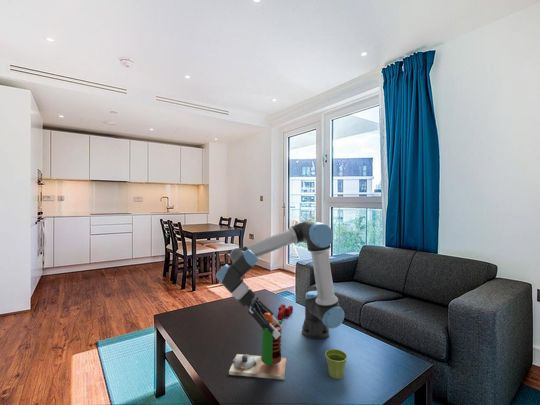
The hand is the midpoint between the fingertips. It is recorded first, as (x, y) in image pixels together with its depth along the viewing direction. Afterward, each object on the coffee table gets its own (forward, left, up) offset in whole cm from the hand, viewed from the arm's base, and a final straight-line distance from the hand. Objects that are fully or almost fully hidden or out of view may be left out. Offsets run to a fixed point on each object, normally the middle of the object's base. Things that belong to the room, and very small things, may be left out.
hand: (279, 332), depth 123 cm
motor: (+4, 0, -13) cm, 13 cm away
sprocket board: (+9, 0, -17) cm, 19 cm away
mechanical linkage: (+3, -55, -17) cm, 58 cm away
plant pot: (-25, 0, -17) cm, 30 cm away
